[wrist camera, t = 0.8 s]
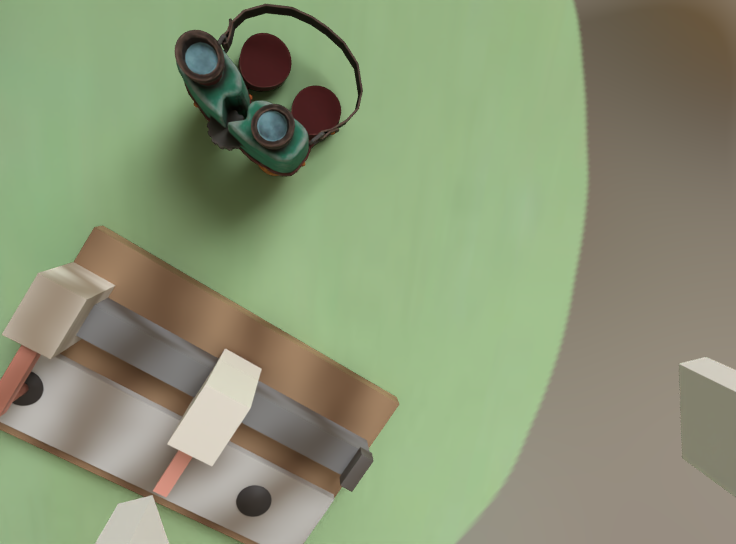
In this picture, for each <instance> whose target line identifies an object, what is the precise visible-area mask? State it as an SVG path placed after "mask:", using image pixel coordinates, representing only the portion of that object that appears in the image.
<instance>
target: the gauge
mask: <svg viewBox="0 0 736 544" xmlns="http://www.w3.org/2000/svg"><path fill="white" fill-rule="evenodd" d="M2 335H4V336H6V337H8V338H10V339H11V340H13V341H15V342H17V343H19V344H21V347H20V348H19V350H18V352H17V353H16V355H15V357H14V358H13V360H12V362H11V363H10V365H9V367H8V368H7V370H6V372H5V373H4V375H3V377H2V378H1V380H0V430H2V431H4V432H7V433H9V434H11V435H13V436H15V437H17V438H19V439H22V440H24V441H26V442H28V443H30V444H32V445H34V446H37V447H39V448H41V449H43V450H45V451H47V452H49V453H52V454H54V455H56V456H58V457H60V458H62V459H64V460H67V461H69V462H71V463H73V464H75V465H77V466H79V467H82V468H84V469H86V470H88V471H90V472H92V473H94V474H97V475H99V476H101V477H103V478H105V479H107V480H109V481H112V482H114V483H116V484H118V485H120V486H122V487H124V488H127V489H129V490H131V491H133V492H135V493H137V494H140V495H142V496H144V497H147V496H151V495H153V498H154V501H155V502H157V503H159V504H161V505H163V506H165V507H167V508H170V509H172V510H174V511H176V512H178V513H180V514H182V515H185V516H187V517H189V518H191V519H193V520H195V521H197V522H200V523H202V524H204V525H206V526H208V527H210V528H212V529H215V530H217V531H219V532H221V533H223V534H225V535H227V536H230V537H232V538H234V539H236V540H238V541H240V542H242V543H245V544H304V542H305V541H306V539H307V538H308V536H309V535H310V534H311V532H312V531H313V529H314V528H315V526H316V525H317V524H318V522H319V521H320V519H321V518H322V516H323V515H324V513H325V512H326V511H327V509H328V508H329V506H330V505H331V503H332V502H333V501H334V498H335V496H336V495H337V493H338V492H339V490H340V489H341V488H342V487H344V488H346V489H347V490H349V491H351V492H352V491H353V490H354V488H355V487H356V485H357V484H358V482H359V481H360V480H361V478H362V477H363V475H364V474H365V472H366V471H367V470H368V468H369V467H370V465H371V464H372V462H373V457H372V453H371V452H369V447H370V446H371V444H372V443H373V442H374V440H375V439H376V437H377V436H378V434H379V433H380V431H381V430H382V429H383V427H384V426H385V424H386V423H387V421H388V420H389V418H390V417H391V416H392V414H393V413H394V411H395V410H396V408H397V407H398V406H399V402H398V399H397V397H395V396H394V395H392V394H390V393H388V392H387V391H385V390H383V389H382V388H380V387H378V386H376V385H375V384H373V383H371V382H370V381H368V380H366V379H365V378H363V377H361V376H359V375H358V374H356V373H354V372H353V371H351V370H349V369H347V368H346V367H344V366H342V365H341V364H339V363H337V362H335V361H334V360H332V359H330V358H329V357H327V356H325V355H323V354H322V353H320V352H318V351H317V350H315V349H313V348H311V347H310V346H308V345H306V344H305V343H303V342H301V341H299V340H298V339H296V338H294V337H293V336H291V335H289V334H287V333H286V332H284V331H282V330H281V329H279V328H277V327H275V326H274V325H272V324H270V323H269V322H267V321H265V320H263V319H262V318H260V317H258V316H257V315H255V314H253V313H251V312H250V311H248V310H246V309H245V308H243V307H241V306H240V305H238V304H236V303H234V302H233V301H231V300H229V299H228V298H226V297H224V296H222V295H221V294H219V293H217V292H216V291H214V290H212V289H210V288H209V287H207V286H205V285H204V284H202V283H200V282H198V281H197V280H195V279H193V278H192V277H190V276H188V275H186V274H185V273H183V272H181V271H180V270H178V269H176V268H174V267H173V266H171V265H169V264H168V263H166V262H164V261H162V260H161V259H159V258H157V257H156V256H154V255H152V254H150V253H149V252H147V251H145V250H144V249H142V248H140V247H138V246H137V245H135V244H133V243H132V242H130V241H128V240H126V239H125V238H123V237H121V236H120V235H118V234H116V233H114V232H113V231H111V230H109V229H108V228H106V227H104V226H98V227H94V229H93V230H92V232H91V234H90V235H89V237H88V239H87V240H86V242H85V244H84V245H83V247H82V249H81V251H80V252H79V254H78V256H77V257H76V259H75V261H74V262H72V263H69V264H66V265H62V266H59V267H56V268H53V269H49V270H46V271H43V272H40V273H38V274H37V276H36V278H35V279H34V281H33V283H32V284H31V286H30V288H29V289H28V291H27V293H26V294H25V296H24V298H23V300H22V301H21V303H20V305H19V306H18V308H17V310H16V311H15V313H14V315H13V316H12V318H11V320H10V322H9V323H8V325H7V327H6V328H5V330H4V332H3V333H2ZM224 349H227V350H229V351H231V352H233V353H234V354H236V355H238V356H240V357H241V358H243V359H245V360H247V361H249V362H250V363H252V364H254V365H256V366H258V367H259V368H261V369H262V370H261V373H260V377H259V380H258V384H257V387H256V391H255V395H254V398H253V402H252V405H251V408H250V410H249V412H248V413H247V415H246V416H245V418H244V419H243V421H242V422H241V424H240V425H239V427H238V428H237V430H236V431H235V433H234V434H233V436H232V437H231V439H230V440H229V442H228V443H227V445H226V446H225V448H224V449H223V451H222V452H221V454H220V455H219V457H218V458H217V460H216V461H215V463H214V464H213V466H210V465H208V464H206V463H204V462H202V461H200V460H198V459H196V458H194V457H193V458H192V459H191V461H190V462H189V464H188V465H187V467H186V468H185V470H184V471H183V473H182V474H181V476H180V477H179V479H178V480H177V482H176V484H175V485H174V487H173V488H172V490H171V491H170V493H169V494H168V496H167V497H164V496H162V495H160V494H158V493H156V492H154V491H153V490H154V488H155V486H156V484H157V482H158V481H159V479H160V478H161V476H162V475H163V473H164V472H165V470H166V468H167V467H168V465H169V464H170V462H171V461H172V459H173V458H174V456H175V455H176V453H177V452H178V449H176V448H174V447H172V446H170V445H168V444H167V443H168V441H169V440H170V438H171V436H172V434H173V433H174V431H175V429H176V427H177V426H178V424H179V422H180V420H181V419H182V417H183V415H184V413H185V412H186V410H187V408H188V406H189V404H190V403H191V401H192V399H193V398H195V396H196V394H197V393H198V391H199V390H200V388H201V387H202V385H203V384H204V382H205V381H206V379H207V377H208V376H209V374H210V373H211V371H212V370H213V368H214V366H215V365H216V363H217V361H218V359H219V357H220V356H221V354H222V353H223V351H224Z"/></svg>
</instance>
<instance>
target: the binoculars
mask: <svg viewBox="0 0 736 544" xmlns="http://www.w3.org/2000/svg"><path fill="white" fill-rule="evenodd" d="M265 13H269V14H278V15H287V16H292V17H295V18H297V19H299V20H301V21H303V22H306V23H308V24H310V25H312V26H313V27H315V28H316V29H318V30H319V31H320V32H322V33H323V34H325V35H326V36H327V37H328V38H330V39H331V40H332V41H333V42H334V43H335V44H336V45H337V46H338V47H339V48H341V49H342V51H343V53H344V54H345V56H346V57H347V59H348V60H349V62H350V64H351V65H352V67H353V68H354V71H355V78H356V84H357V90H358V99H357V103H356V108H355V111H354V112H353V113H352V114H351V115H350V116H349V117H348V118H347V119H346V120H345V121H343V122H341V123H340V124H339V120H340V116H341V106H340V102H339V100H338V98H337V97H336V95H335V94H334V93H333V92H332V91H330V90H329V89H327V88H325V87H322V86H309V87H307V88H304V89H303V90H301V91H300V92H299V93H298V94H297V96H296V97H295V99H294V101H293V105H292V111H291V112H290V111H289V110H288V109H287V108H285V107H284V106H281V105H278V104H273V103H270V102H267V101H254V102H251V100H252V96H251V95H249V93H248V89H252V90H255V91H269V90H273V89H275V88H277V87H279V86H280V85H281V84H283V82H284V81H285V80H286V78H287V77H288V75H289V73H290V70H291V65H292V64H291V56H290V52H289V50H288V48H287V47H286V45H285V44H284V43H283V42H282V41H281V40H280V39H279V38H277V37H276V36H274V35H271V34H268V33H258V34H255V35H253V36H251V37H250V38H248V39H247V41H246V42H245V43H244V45H243V47H242V50H241V54H240V58H239V65H238V69H239V70H238V69H237V67H236V66H235V65H234V63H233V62H232V61H231V59H230V58H229V57H228V55H227V54H226V53H227V52H228V50H229V48H230V46H231V44H232V40H233V36H234V31H235V29H236V28H237V27H238V26H239V25H240V24H241V23H242V22H243V21H244V20H245V19H248V18H251V17H255V16H258V15H262V14H265ZM221 44H222V47H223V48H224V50H223V49H222V48H221V46H220V45H221ZM175 58H176V62H177V67H178V70H179V72H180V74H181V76H182V78H183V80H184V82H185V86H186V89H187V91H188V94H189V95H190V97H191V98H192V99H193V101H194V106H195V107H198V108H199V109H200V111H201V112H202V114H203V115H204V117H205V118H206V119H207V121H209V122H208V124H207V127H208V128H209V131H208V135H209V136H210V137H211V138H212V141H213V143H214V144H215V145H216V144H217V145H219V147H220V148H221V149H224V148H225V149H228V151H232V149H235V148H236V149H240V150H241V151H242V152H243V153H244V154H245V155H246V156H247V157H248V158H249V159H250V160H251V161H253V162H254V163H256V164H258V165H259V167H260V168H261V169H262V170H263V171H264V172H265V173H267V174H269V175H272V176H292V175H293V174H295V173H296V172H297V171H298V170H299V169H300V167H301V166H305V161H306V160H307V158H308V156H309V153H310V150H311V148H312V147H313V146H314V145H315V144H317V143H318V142H321V141H323V140H324V139H325V138H326V137H328V136H330V135H333V134H335V133H336V132H338V131H339V129H338V128H340V127H341V126H343V125H345V124H346V123H347V122H348V121H349V120H350V118H351V117H352V116H353V115H354V114H355V113H356V112H357V110H358V109H359V106H360V101H361V97H362V92H363V89H362V83H361V77H360V71H359V64H358V62H357V61H356V59H355V57H354V56H353V54H352V53H351V51H350V49H349V48H348V46H347V45H346V43H345V42H344V41H343V40H342V39H341V38H340V37H339V36H338V35H336V34H335V33H334V32H333V31H332V30H331V29H330V28H329V27H327V26H326V25H325V24H323V23H322V22H320V21H319V20H317V19H316V18H314V17H313V16H311V15H309V14H307V13H304V12H302V11H300V10H298V9H296V8H293V7H289V6H280V5H272V4H263V5H259V6H256V7H252V8H249V9H245V10H243V11H242V12H241V13H240V14H239V15H238V16H237V17H236V18H234V19H233V20H232V19H231V18H230V19H229V27H228V30H227V31H226V32H225V33H224V34H222V35H221V36H220V38H219V40H218V41H217V40H216V39H215V38H214V37H213V36H212V35H210V34H208V33H207V32H204V31H201V30H191V31H188V32H185V33H184V34H182V35H181V36H180V37H179V39H178V40H177V43H176V45H175ZM308 147H309V149H308Z"/></svg>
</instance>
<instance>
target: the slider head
mask: <svg viewBox="0 0 736 544" xmlns="http://www.w3.org/2000/svg"><path fill="white" fill-rule="evenodd" d="M261 370H262V369H261V368H259V367H258V366H256V365H254V364H252V363H250V362H249V361H247V360H245V359H243V358H241V357H240V356H238V355H236V354H234V353H233V352H231V351H229V350H227V349H224V351H223V353H222V354H221V356H220V357H219V359H218V361H217V363H216V365H215V366H214V368H213V370H212V371H211V373H210V374H209V376H208V377H207V379H206V381H205V382H204V384H203V385H202V387H201V388H200V390H199V391H198V393H197V394H196V396H195V398H193V399H192V401H191V403H190V404H189V406H188V408H187V410H186V412H185V413H184V415H183V417H182V419H181V420H180V422H179V424H178V426H177V427H176V429H175V431H174V433H173V434H172V436H171V438H170V440H169V441H168V443H167V444H168V445H170V446H172V447H174V448H176V449H178V452H177V453H176V455H175V456H174V458H173V459H172V461H171V462H170V464H169V465H168V467H167V468H166V470H165V472H164V473H163V475H162V476H161V478H160V479H159V481H158V482H157V484H156V486H155V488H154V490H153V491H154V492H156V493H158V494H160V495H162V496H164V497H167V496H168V494H169V493H170V491H171V490H172V488H173V487H174V485H175V484H176V482H177V480H178V479H179V477H180V476H181V474H182V473H183V471H184V470H185V468H186V467H187V465H188V464H189V462H190V461H191V459H192V458H193V457H194V458H196V459H198V460H200V461H202V462H204V463H206V464H208V465H210V466H213V464H214V463H215V461H216V460H217V458H218V457H219V455H220V454H221V452H222V451H223V449H224V448H225V446H226V445H227V443H228V442H229V440H230V439H231V437H232V436H233V434H234V433H235V431H236V430H237V428H238V427H239V425H240V424H241V422H242V421H243V419H244V418H245V416H246V415H247V413H248V412H249V410H250V408H251V405H252V402H253V398H254V395H255V391H256V387H257V384H258V380H259V377H260V373H261Z"/></svg>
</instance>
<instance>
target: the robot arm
mask: <svg viewBox="0 0 736 544" xmlns="http://www.w3.org/2000/svg"><path fill="white" fill-rule="evenodd" d="M679 383H680V384H679V385H680V411H681V436H682V437H681V438H682V458H683V459H684V460H685V461H687V462H688V463H690V464H691V465H692V466H694V467H695V468H696V469H698V470H699V471H701V472H702V473H703V474H704V475H706V476H707V477H709V478H710V479H711V480H713V481H714V482H715V483H717V484H718V485H719V486H721V487H722V488H724V489H725V490H726V491H728V492H729V493H730V494H732V495H733V496H734V497H736V370H734V369H732V368H730V367H728V366H725V365H723V364H720V363H718V362H716V361H714V360H712V359H709V358H707V357H704V358H700V359H697V360H692V361H688V362H684V363H680V364H679ZM95 544H169V542H168V539H167V536H166V533H165V530H164V527H163V524H162V521H161V518H160V515H159V513H158V510H157V507H156V504H155V501H154V498H153V495H151V496H147V497H143V498H139V499H135V500H131V501H127V502H123V503H119V504H118V505H117V507H116V508H115V510H114V512H113V513H112V515H111V517H110V519H109V520H108V522H107V524H106V525H105V527H104V529H103V531H102V532H101V534H100V536H99V537H98V539H97V541H96V543H95Z"/></svg>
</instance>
